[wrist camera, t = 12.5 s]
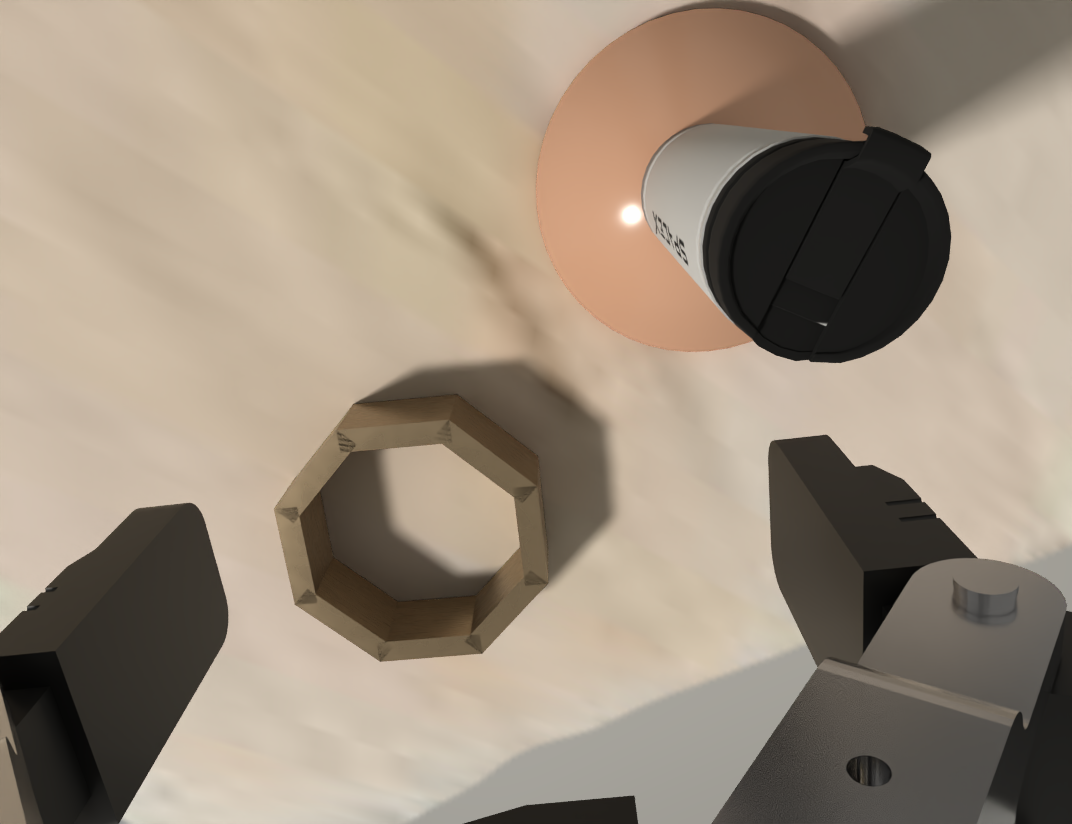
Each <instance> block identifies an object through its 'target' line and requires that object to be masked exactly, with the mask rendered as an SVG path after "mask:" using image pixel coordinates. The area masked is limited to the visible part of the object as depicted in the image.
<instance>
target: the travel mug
mask: <svg viewBox="0 0 1072 824" xmlns="http://www.w3.org/2000/svg"><path fill="white" fill-rule="evenodd" d="M862 133H864V134H867V135H868V137H867V139H866V141H850V140H845V139H841V138H838V137H834V136H824V135H815V134H806V133H797V132H788V131H779V130H770V129H761V128H752V127H742V126H733V125H724V124H713V123H707V124H699V125H694V126H691V127H688V128H685V129H683V130H681V131H679V132H678V133H676V134H674V135H672V136H671V137H670V138H669V139H668V140H666V141H665V142H664V143H663V144H662V145H661V146H660V147H659V148H658V150H657V151H656V152H655V153H654V155H653V156H652V158H651V160H650V162H649V164H648V165H647V167H646V171H645V174H644V177H643V180H642V188H641V202H642V209H643V212H644V216H645V219H646V221H647V223H648V225H649V227H650V229H651V231H652V232H653V233H654V234H655V236H656V237H657V238H658V239H659V241H660V242H661V243H662V244H663V245H664V246H665V248H666V249H667V250H668V251H669V252H670V253H671V254H672V256H673V257H674V258H675V259H676V260H677V261H678V263H679V264H680V265H681V266H682V267H683V268H684V269H685V271H686V272H687V273H688V274H689V275H690V276H691V277H692V279H693V280H694V281H695V282H696V283H697V284H698V286H699V287H700V288H701V289H702V290H703V291H704V292H705V294H706V295H707V296H708V297H709V298H710V299H711V301H712V302H713V303H714V304H715V305H716V306H717V307H718V309H719V310H720V311H721V312H722V313H723V314H724V315H725V317H726V318H727V319H729V320H730V321H731V322H732V323H733V324H735V325H736V326H737V327H738V328H739V329H740V330H742V331H743V332H744V333H745V334H747V335H748V336H749V337H750V338H751V339H752V340H753V341H754V342H755V343H756V344H757V345H758V346H759V347H761V348H763V349H765V350H767V351H769V352H771V353H773V354H774V355H777V356H780V357H784V358H787V359H791V360H794V361H800V360H809V361H810V362H827V363H842V362H846V361H850V360H854V359H857V358H861V357H863V356H866V355H868V354H870V353H872V352H874V351H877V350H879V349H881V348H883V347H884V346H886V345H887V344H889V343H890V342H892V341H893V340H895V339H896V338H898V337H899V336H901V335H902V334H903V333H904V332H905V331H906V330H907V329H908V328H910V327H911V326H912V325H913V324H914V323H915V322H916V321H917V320H918V319H919V318H920V316H921V315H922V314H923V312H924V311H925V310H926V308H927V307H928V306H929V304H930V303H931V302H932V300H933V298H934V296H935V294H936V292H937V291H938V289H939V287H940V285H941V283H942V281H943V278H944V274H945V271H946V268H947V264H948V261H949V254H950V244H951V231H950V223H949V215H948V212H947V209H946V206H945V203H944V201H943V198H942V195H941V193H940V192H939V190H938V189H937V187H936V185H935V184H934V182H933V181H932V180H931V178H930V177H929V176H928V175H927V174H926V173H925V171H924V170H925V168H926V166H927V164H928V162H929V161H930V159H931V153H930V152H928V151H927V150H926V149H924V148H923V147H922V146H920V145H918V144H916V143H914V142H912V141H910V140H908V139H906V138H903V137H901V136H899V135H897V134H895V133H892V132H890V131H887V130H885V129H882V128H880V127H865V128H864V130H863V132H862Z"/></svg>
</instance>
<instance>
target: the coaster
mask: <svg viewBox="0 0 1072 824" xmlns="http://www.w3.org/2000/svg"><path fill="white" fill-rule="evenodd" d="M707 123H713V124H724V125H733V126H742V127H752V128H761V129H770V130H779V131H788V132H797V133H806V134H815V135H824V136H834V137H838V138H841V139H845V140H850V141H866V139H867V137H868V136H867V134H864V133H862V132H863V130H864V128H865V127H866V126H865V123H864V120H863V117H862V114H861V110H860V107H859V105H858V103H857V101H856V99H855V97H854V95H853V93H852V91H851V88H850V86H849V85H848V83H847V82H846V80H845V79H844V77H843V76H842V74H841V73H840V71H839V70H838V68H837V67H836V66H835V65H834V64H833V63H832V62H831V61H830V59H829V58H828V57H827V56H826V55H825V54H824V53H823V52H822V51H821V50H820V49H819V48H818V47H816V46H815V45H814V44H813V43H812V42H810V41H809V40H808V39H807V38H806V37H804V36H803V35H801V34H799V33H798V32H796V31H794V30H793V29H791V28H789V27H788V26H786V25H784V24H782V23H779V22H777V21H775V20H772V19H770V18H767V17H765V16H761V15H758V14H754V13H750V12H746V11H742V10H732V9H722V8H710V9H693V10H688V11H683V12H677V13H672V14H669V15H666V16H663V17H660V18H657V19H654V20H651V21H649V22H647V23H644V24H642V25H640V26H638V27H636V28H634V29H632V30H630V31H628V32H627V33H625V34H624V35H622V36H621V37H619V38H618V39H616V40H615V41H613V42H612V43H610V44H609V45H608V46H606V47H605V48H604V49H603V50H602V51H601V52H600V53H598V54H597V55H596V56H595V57H594V58H593V59H592V60H591V61H590V62H589V63H588V64H587V65H586V66H585V67H584V68H583V70H582V71H581V72H580V73H579V74H578V75H577V76H576V78H575V79H574V80H573V82H572V83H571V85H570V86H569V87H568V89H567V90H566V92H565V93H564V95H563V96H562V98H561V100H560V102H559V104H558V106H557V108H556V110H555V112H554V114H553V115H552V117H551V120H550V123H549V125H548V128H547V131H546V134H545V136H544V139H543V143H542V148H541V152H540V157H539V161H538V170H537V181H536V198H537V212H538V218H539V224H540V230H541V233H542V236H543V240H544V243H545V246H546V250H547V252H548V254H549V256H550V259H551V261H552V263H553V265H554V268H555V270H556V271H557V273H558V274H559V276H560V278H561V279H562V281H563V283H564V284H565V286H566V287H567V289H568V290H569V291H570V292H571V293H572V295H573V296H574V297H575V298H576V300H577V301H578V302H579V303H580V304H581V305H582V306H583V307H584V308H585V309H586V310H587V311H588V312H590V313H591V314H592V315H593V316H594V317H595V318H596V319H598V320H599V321H601V322H602V323H603V324H605V325H606V326H608V327H609V328H611V329H612V330H614V331H616V332H618V333H620V334H622V335H624V336H625V337H627V338H629V339H632V340H635V341H638V342H640V343H643V344H646V345H649V346H653V347H657V348H662V349H666V350H675V351H685V352H697V351H713V350H719V349H725V348H731V347H734V346H738V345H741V344H744V343H748V342H751V341H753V340H752V339H751V338H750V337H749V336H748V335H747V334H745V333H744V332H743V331H742V330H740V329H739V328H738V327H737V326H736V325H735V324H733V323H732V322H731V321H730V320H729V319H727V318H726V317H725V315H724V314H723V313H722V312H721V311H720V310H719V309H718V307H717V306H716V305H715V304H714V303H713V302H712V301H711V299H710V298H709V297H708V296H707V295H706V294H705V292H704V291H703V290H702V289H701V288H700V287H699V286H698V284H697V283H696V282H695V281H694V280H693V279H692V277H691V276H690V275H689V274H688V273H687V272H686V271H685V269H684V268H683V267H682V266H681V265H680V264H679V263H678V261H677V260H676V259H675V258H674V257H673V256H672V254H671V253H670V252H669V251H668V250H667V249H666V248H665V246H664V245H663V244H662V243H661V242H660V241H659V239H658V238H657V237H656V236H655V234H654V233H653V232H652V231H651V229H650V227H649V225H648V223H647V221H646V219H645V216H644V212H643V209H642V202H641V188H642V180H643V177H644V174H645V171H646V167H647V165H648V164H649V162H650V160H651V158H652V156H653V155H654V153H655V152H656V151H657V150H658V148H659V147H660V146H661V145H662V144H663V143H664V142H665V141H666V140H668V139H669V138H670V137H671V136H672V135H674V134H676V133H678V132H679V131H681V130H683V129H685V128H688V127H691V126H694V125H699V124H707Z"/></svg>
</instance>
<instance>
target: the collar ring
mask: <svg viewBox="0 0 1072 824" xmlns="http://www.w3.org/2000/svg"><path fill="white" fill-rule="evenodd" d="M432 444H443V445H445V446H446V447H447V448H449V449H450V450H451V451H453V452H454V453H455V454H457V455H458V456H459V457H461V458H462V459H463V460H465V461H466V462H467V463H469V464H470V465H471V466H473V467H474V468H475V469H477V470H478V471H480V472H481V473H482V474H484V475H485V476H486V477H488V478H489V479H490V480H492V481H493V482H494V483H496V484H497V485H498V486H500V487H501V488H502V489H504V490H505V491H506V492H508V493H509V494H510V495H512V496H513V497H514V499H515V508H516V516H517V524H518V532H519V541H520V548H519V549H518V550H517V551H516V552H515V553H514V554H513V555H512V557H511V558H510V559H509V560H508V561H507V562H506V563H505V564H504V565H503V566H502V568H501V569H500V570H499V571H498V572H497V573H496V574H495V575H494V576H493V577H492V579H491V580H490V581H489V582H488V583H487V584H486V585H485V586H484V587H483V588H482V589H481V591H480V592H479V593H478V594H477V595H476V596H464V597H452V598H440V599H428V600H416V601H404V602H397V601H396V600H394V599H393V598H391V597H390V596H389V595H387V594H386V593H384V592H383V591H381V590H380V589H378V588H377V587H376V586H374V585H373V584H371V583H370V582H368V581H367V580H365V579H364V578H363V577H361V576H360V575H358V574H357V573H355V572H354V571H352V570H351V569H349V568H348V567H347V566H345V565H344V564H342V563H341V562H339V561H338V560H336V559H335V558H334V557H333V553H332V548H331V543H330V538H329V533H328V528H327V523H326V518H325V513H324V508H323V503H322V498H321V493H320V490H321V488H322V487H323V486H324V485H325V483H326V482H327V481H328V480H329V478H330V477H331V476H332V475H333V473H334V472H335V471H336V470H337V468H338V467H339V466H340V465H341V463H342V462H343V461H344V460H345V459H346V457H347V456H348V455H349V454H350V452H355V451H366V450H377V449H388V448H399V447H410V446H421V445H432ZM274 512H275V516H276V521H277V525H278V530H279V534H280V539H281V543H282V548H283V552H284V557H285V561H286V566H287V570H288V575H289V580H290V584H291V589H292V593H293V598H294V602H295V605H296V606H298V607H299V608H301V609H302V610H304V611H305V612H307V613H308V614H310V615H311V616H313V617H314V618H316V619H317V620H319V621H320V622H322V623H323V624H325V625H326V626H328V627H329V628H331V629H332V630H334V631H335V632H337V633H338V634H340V635H341V636H343V637H344V638H346V639H347V640H349V641H350V642H352V643H353V644H355V645H356V646H358V647H359V648H361V649H362V650H364V651H365V652H367V653H368V654H370V655H371V656H373V657H374V658H376V659H377V660H379V661H380V662H382V661H394V660H407V659H419V658H432V657H444V656H457V655H469V654H482V653H483V652H484V651H485V650H486V649H487V648H488V647H489V646H490V645H491V644H492V642H493V641H494V640H495V639H496V638H497V637H498V636H499V635H500V634H501V633H502V632H503V631H504V630H505V629H506V628H507V626H508V625H509V624H510V623H511V622H512V621H513V620H514V619H515V618H516V617H517V616H518V615H519V614H520V613H521V612H522V610H523V609H524V608H525V607H526V606H527V605H528V604H529V603H530V602H531V601H532V600H533V599H534V598H535V597H536V596H537V594H538V593H539V592H540V591H541V590H542V589H543V588H544V587H545V586H546V585H547V584H548V544H547V535H546V526H545V517H544V508H543V499H542V490H541V480H540V471H539V462H538V456H537V455H536V454H534V453H533V452H532V451H530V450H529V449H528V448H527V447H525V446H524V445H523V444H521V443H520V442H519V441H517V440H516V439H515V438H513V437H512V436H511V435H509V434H508V433H507V432H506V431H504V430H503V429H502V428H500V427H499V426H498V425H496V424H495V423H494V422H492V421H491V420H490V419H488V418H487V417H486V416H484V415H483V414H482V413H481V412H479V411H478V410H477V409H475V408H474V407H473V406H471V405H470V404H469V403H467V402H466V401H465V400H463V399H462V398H461V397H460V396H458V395H457V394H456V395H445V396H435V397H424V398H413V399H403V400H392V401H381V402H371V403H360V404H353V405H352V407H351V408H350V410H349V411H348V412H347V413H346V415H345V416H344V417H343V418H342V420H341V421H340V422H339V423H338V425H337V426H336V427H335V429H334V430H333V431H332V432H331V434H330V435H329V436H328V437H327V439H326V440H325V441H324V443H323V444H322V445H321V446H320V448H319V449H318V450H317V451H316V453H315V454H314V455H313V456H312V458H311V459H310V460H309V462H308V463H307V464H306V465H305V467H304V468H303V469H302V470H301V472H300V473H299V474H298V476H297V477H296V478H295V479H294V480H293V482H292V483H291V485H290V486H289V488H288V489H287V491H286V492H285V494H284V495H283V497H282V498H281V499H280V501H279V502H278V504H277V505H276V507H275V508H274Z"/></svg>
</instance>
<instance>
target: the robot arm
mask: <svg viewBox="0 0 1072 824" xmlns="http://www.w3.org/2000/svg"><path fill="white" fill-rule="evenodd" d="M768 466H769V497H770V527H771V550H772V558H773V565H774V570H775V574H776V578H777V582H778V585H779V588H780V590H781V592H782V595H783V597H784V599H785V601H786V603H787V605H788V607H789V609H790V611H791V613H792V615H793V617H794V619H795V621H796V623H797V626H798V628H799V630H800V632H801V634H802V636H803V638H804V640H805V642H806V644H807V646H808V648H809V650H810V652H811V654H812V657H813V659H814V661H815V663H816V665H817V667H818V668H817V669H816V670H815V672H814V674H813V675H812V676H811V678H810V680H809V681H808V682H807V684H806V685H805V687H804V688H803V690H802V691H801V693H800V694H799V696H798V697H797V698H796V700H795V702H794V703H793V704H792V706H791V707H790V709H789V710H788V712H787V713H786V715H785V716H784V718H783V719H782V721H781V722H780V724H779V725H778V726H777V728H776V729H775V731H774V732H773V734H772V735H771V737H770V738H769V740H768V741H767V743H766V744H765V746H764V747H763V749H762V750H761V752H760V753H759V755H758V756H757V757H756V759H755V761H754V762H753V763H752V765H751V766H750V768H749V769H748V771H747V772H746V774H745V775H744V777H743V778H742V780H741V781H740V783H739V784H738V785H737V787H736V788H735V790H734V791H733V793H732V794H731V796H730V797H729V799H728V800H727V802H726V803H725V805H724V806H723V808H722V809H721V810H720V812H719V814H718V815H717V817H716V818H715V819H714V821H713V822H712V824H1072V612H1069V611H1066V607H1067V604H1066V600H1065V598H1064V596H1063V594H1062V593H1061V591H1060V590H1059V589H1058V588H1057V587H1056V586H1055V585H1054V584H1052V583H1051V582H1050V581H1048V580H1047V579H1045V578H1044V577H1042V576H1040V575H1038V574H1037V573H1035V572H1032V571H1030V570H1028V569H1025V568H1022V567H1019V566H1016V565H1013V564H1009V563H1005V562H1001V561H995V560H989V559H978V558H977V557H976V556H975V555H974V554H973V553H972V552H971V551H970V550H969V548H968V547H967V546H966V545H965V544H964V543H963V542H962V541H961V540H960V539H959V538H958V537H957V536H956V535H955V534H954V533H953V532H952V530H951V529H950V528H949V527H948V526H947V525H946V524H945V523H944V522H943V521H942V520H941V519H940V518H936V514H935V512H934V511H933V510H932V509H931V508H930V507H929V506H928V505H927V504H926V503H925V502H922V501H921V498H920V497H919V496H918V494H917V493H916V492H915V491H914V490H913V489H912V488H911V487H910V486H909V485H908V484H907V483H906V482H905V481H904V480H903V479H901V478H899V477H897V476H895V475H893V474H890V473H888V472H886V471H884V470H882V469H880V468H878V467H875V466H873V465H868V466H858V467H855V466H854V465H853V464H852V463H851V461H850V460H849V459H848V458H847V457H846V456H845V454H844V453H843V452H842V451H841V450H840V448H839V447H838V446H837V445H836V444H835V443H834V441H833V440H832V439H831V438H830V437H829V436H828V435H820V436H811V437H802V438H793V439H783V440H774V441H772V442H771V443H770V447H769V455H768ZM45 589H46V592H44V593H40V594H39V595H38V596H37V597H36V598H35V599H34V600H33V601H32V602H31V603H30V604H29V605H28V606H27V611H22V612H21V613H20V614H19V615H18V616H17V617H16V618H15V619H14V620H13V621H12V622H11V623H10V624H9V625H8V626H7V627H6V628H5V629H4V630H3V631H2V632H1V633H0V824H119V822H120V821H121V819H122V817H123V815H124V814H125V812H126V810H127V809H128V807H129V805H130V803H131V802H132V800H133V798H134V797H135V795H136V793H137V791H138V790H139V788H140V786H141V785H142V783H143V781H144V779H145V778H146V776H147V774H148V772H149V771H150V769H151V767H152V766H153V764H154V762H155V760H156V759H157V757H158V755H159V754H160V752H161V750H162V748H163V747H164V745H165V743H166V742H167V740H168V738H169V736H170V735H171V733H172V731H173V730H174V728H175V726H176V724H177V723H178V721H179V719H180V718H181V716H182V714H183V712H184V711H185V709H186V707H187V706H188V704H189V702H190V700H191V699H192V697H193V695H194V694H195V692H196V690H197V688H198V687H199V685H200V683H201V682H202V680H203V678H204V676H205V675H206V673H207V671H208V669H209V668H210V666H211V664H212V663H213V661H214V659H215V657H216V656H217V654H218V652H219V651H220V649H221V647H222V645H223V643H224V641H225V638H226V634H227V628H228V606H227V600H226V596H225V592H224V589H223V585H222V582H221V578H220V574H219V571H218V567H217V564H216V560H215V557H214V553H213V549H212V546H211V542H210V539H209V535H208V531H207V528H206V524H205V521H204V518H203V516H202V513H201V512H200V510H199V509H198V507H197V506H196V505H194V504H192V503H183V504H174V505H165V506H156V507H146V508H138V509H136V510H134V511H133V512H132V513H131V514H130V515H129V516H128V517H127V518H126V519H125V520H124V521H123V522H122V523H121V524H120V525H119V526H118V527H117V528H116V529H115V530H114V531H113V532H112V533H111V534H110V535H109V536H108V537H107V538H106V539H105V540H104V541H103V542H102V543H101V544H100V545H99V546H98V547H97V548H96V549H95V550H94V551H92V552H90V553H89V554H87V555H86V556H84V557H82V558H81V559H79V560H77V561H76V562H74V563H72V564H71V565H69V566H67V567H66V568H65V569H64V570H63V571H62V572H61V573H60V574H59V575H58V576H57V577H56V578H55V579H54V580H53V581H52V582H51V583H50V584H49V585H48V586H47V587H46V588H45ZM464 824H638V820H637V812H636V805H635V797H634V796H624V797H613V798H602V799H590V800H579V801H568V802H557V803H546V804H535V805H526V806H522V807H518V808H515V809H512V810H508V811H505V812H501V813H498V814H495V815H491V816H488V817H484V818H481V819H478V820H475V821H471V822H468V823H464Z"/></svg>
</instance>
